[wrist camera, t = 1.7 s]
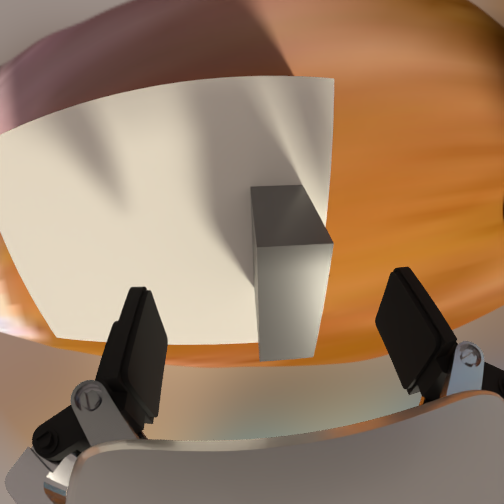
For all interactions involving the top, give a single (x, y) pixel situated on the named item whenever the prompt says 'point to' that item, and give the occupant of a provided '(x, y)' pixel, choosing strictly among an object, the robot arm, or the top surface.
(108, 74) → the top surface
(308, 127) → the sliding lid
